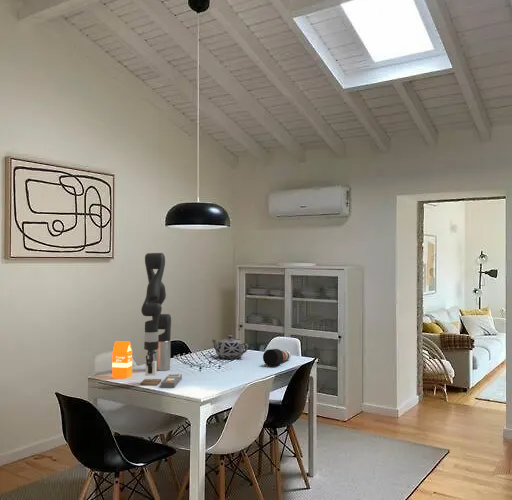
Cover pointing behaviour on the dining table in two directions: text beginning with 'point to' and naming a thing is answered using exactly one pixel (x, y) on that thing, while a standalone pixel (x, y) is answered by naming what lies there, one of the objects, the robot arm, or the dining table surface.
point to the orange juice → (122, 360)
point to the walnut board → (150, 382)
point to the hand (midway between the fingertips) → (151, 372)
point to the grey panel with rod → (171, 380)
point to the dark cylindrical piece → (275, 356)
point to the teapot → (229, 348)
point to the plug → (154, 368)
